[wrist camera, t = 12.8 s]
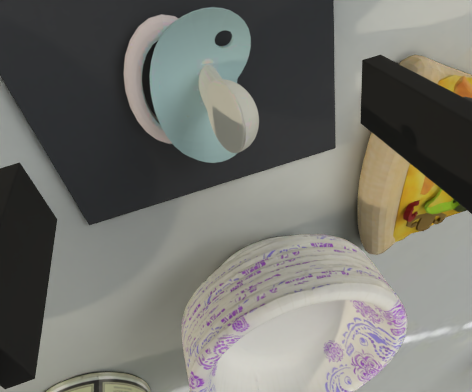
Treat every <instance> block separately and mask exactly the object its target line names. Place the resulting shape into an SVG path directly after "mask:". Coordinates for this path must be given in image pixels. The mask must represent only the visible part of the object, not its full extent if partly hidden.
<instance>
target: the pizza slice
mask: <svg viewBox="0 0 472 392" xmlns="http://www.w3.org/2000/svg"><path fill="white" fill-rule="evenodd" d="M399 65H401V66H403V67H405V68H407V69H409V70H411V71H413V72H415V73H417V74H419V75H421V76H423V77H425V78H427V79H429V80H430V81H432V82H434V83H436V84H438V85H440V86H442V87H444V88H446V89H448V90H450V91H452V92H454V93H456V94H458V95H460V96H462V97H470V98H472V75H470V74H468V73H465V72H462V71H459V70H457V69H454V68H451V67H448V66H445V65H443V64H440V63H437V62H435V61H433V60H431V59H429V58H426V57H423V56H418V55H413V56H410V57H408V58H406V59H404V60H402V61H401V62H400V64H399ZM463 211H466V209H465V208H464V207H463V206H462V205H460V204H459V203H458V202H457V201H455V200H454V199H453V198H452V197H451V196H449V195H448V194H447V193H446V192H444V191H443V190H442V189H441V188H440V187H438V186H437V185H436V184H435V183H433V182H432V181H431V180H430V179H428V178H427V177H426V176H425V175H424V174H422V173H421V172H420V171H419V170H417V169H416V168H415V167H414V166H413V165H411V164H410V163H409V162H408V161H406V160H405V159H404V158H403V157H402V156H400V155H399V154H398V153H397V152H395V151H394V150H393V149H392V148H390V147H389V146H388V145H387V144H386V143H384V142H383V141H382V140H381V139H379V138H378V137H377V136H376V135H375V134H373V133H371V136H370V139H369V142H368V146H367V150H366V153H365V157H364V161H363V165H362V170H361V175H360V180H359V188H358V230H359V234H360V238H361V242H362V244H363V246H364V248H365V250H366V251H367V252H368V253H370V254H375V255H378V254H381V253H383V252H385V251H386V250H387V249H388V248H390V247H391V246H392V245H393V244H394V243H395V242H396V241H400V240H402V239H404V238H405V237H407V236H408V235H409V234H411V233H415V232H419V231H424V230H426V229H428V228H429V227H430V226H431V225H433V224H438V223H441V222H442V221H443V220H444V219H445V217H448V216H451V215H454V214H457V213H460V212H463Z"/></svg>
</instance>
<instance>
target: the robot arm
mask: <svg viewBox="0 0 472 392" xmlns="http://www.w3.org/2000/svg"><path fill="white" fill-rule="evenodd" d="M361 124H362V125H364V126H365V127H366V128H367V129H368V130H370V131H371V132H372V133H373V134H375V135H376V136H377V137H378V138H379V139H381V140H382V141H383V142H384V143H386V144H387V145H388V146H389V147H390V148H392V149H393V150H394V151H395V152H397V153H398V154H399V155H400V156H402V157H403V158H404V159H405V160H406V161H408V162H409V163H410V164H411V165H413V166H414V167H415V168H416V169H417V170H419V171H420V172H421V173H422V174H424V175H425V176H426V177H427V178H428V179H430V180H431V181H432V182H433V183H435V184H436V185H437V186H438V187H440V188H441V189H442V190H443V191H444V192H446V193H447V194H448V195H449V196H451V197H452V198H453V199H454V200H455V201H457V202H458V203H459V204H460V205H462V206H463V207H464V208H465V209H466V210H468V211H469V212H470V213H471V214H472V98H470V97H462V96H460V95H458V94H456V93H454V92H452V91H450V90H448V89H446V88H444V87H442V86H440V85H438V84H436V83H434V82H432V81H430V80H429V79H427V78H425V77H423V76H421V75H419V74H417V73H415V72H413V71H411V70H409V69H407V68H405V67H403V66H401V65H399V64H397V63H395V62H394V61H392V60H390V59H388V58H386V57H384V56H382V55H378V56H375V57H372V58H368V59H365V60H363V62H362V93H361ZM56 224H57V218H56V217H55V215H54V214H53V212H52V211H51V209H50V208H49V206H48V205H47V203H46V202H45V200H44V199H43V197H42V196H41V194H40V193H39V191H38V190H37V188H36V187H35V185H34V184H33V182H32V181H31V179H30V177H29V176H28V174H27V173H26V171H25V170H24V168H23V167H22V165H21V164H20V163H17V164H14V165H10V166H7V167H3V168H0V386H2V387H3V388H4V389H7V388H10V387H13V386H16V385H18V384H21V383H24V382H27V381H30V380H32V379H35V375H36V367H37V360H38V353H39V346H40V339H41V332H42V324H43V317H44V310H45V303H46V296H47V288H48V281H49V274H50V267H51V260H52V253H53V245H54V238H55V231H56Z"/></svg>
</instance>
